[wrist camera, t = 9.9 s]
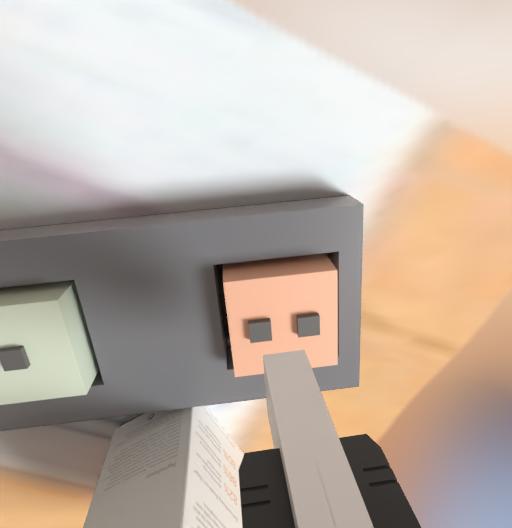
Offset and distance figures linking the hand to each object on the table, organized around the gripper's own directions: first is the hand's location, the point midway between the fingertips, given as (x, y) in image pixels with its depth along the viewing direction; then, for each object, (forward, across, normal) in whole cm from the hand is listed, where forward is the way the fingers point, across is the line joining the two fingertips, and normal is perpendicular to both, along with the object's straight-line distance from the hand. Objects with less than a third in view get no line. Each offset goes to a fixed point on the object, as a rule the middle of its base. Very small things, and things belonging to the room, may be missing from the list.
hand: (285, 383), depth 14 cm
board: (+7, -5, 0) cm, 9 cm away
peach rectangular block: (+8, +1, 0) cm, 8 cm away
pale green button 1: (+8, -11, 0) cm, 14 cm away
